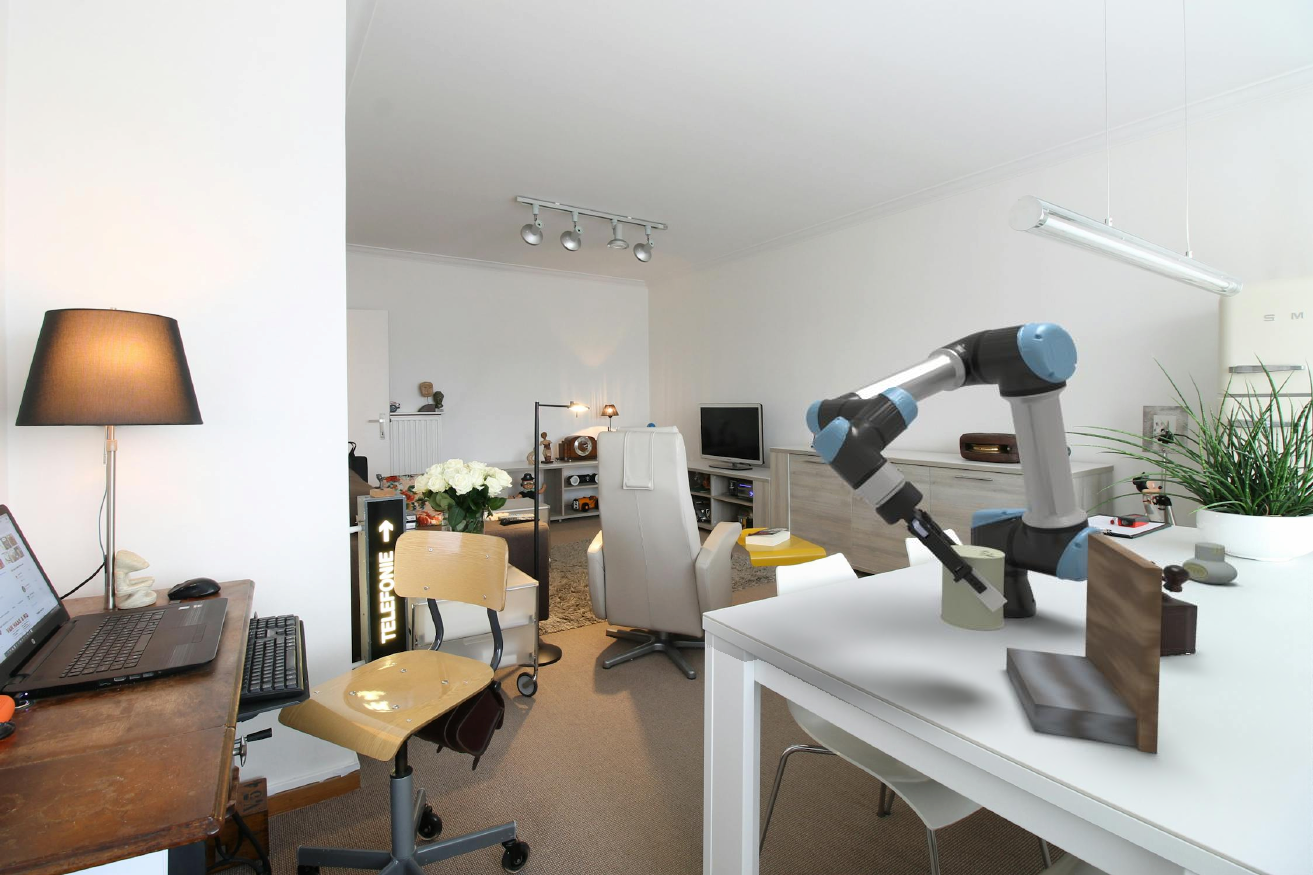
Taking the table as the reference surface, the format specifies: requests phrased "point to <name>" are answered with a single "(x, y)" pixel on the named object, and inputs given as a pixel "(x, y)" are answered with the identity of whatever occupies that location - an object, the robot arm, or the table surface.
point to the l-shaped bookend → (1102, 658)
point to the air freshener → (1210, 564)
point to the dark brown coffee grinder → (1177, 615)
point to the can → (962, 602)
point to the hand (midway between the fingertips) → (994, 597)
